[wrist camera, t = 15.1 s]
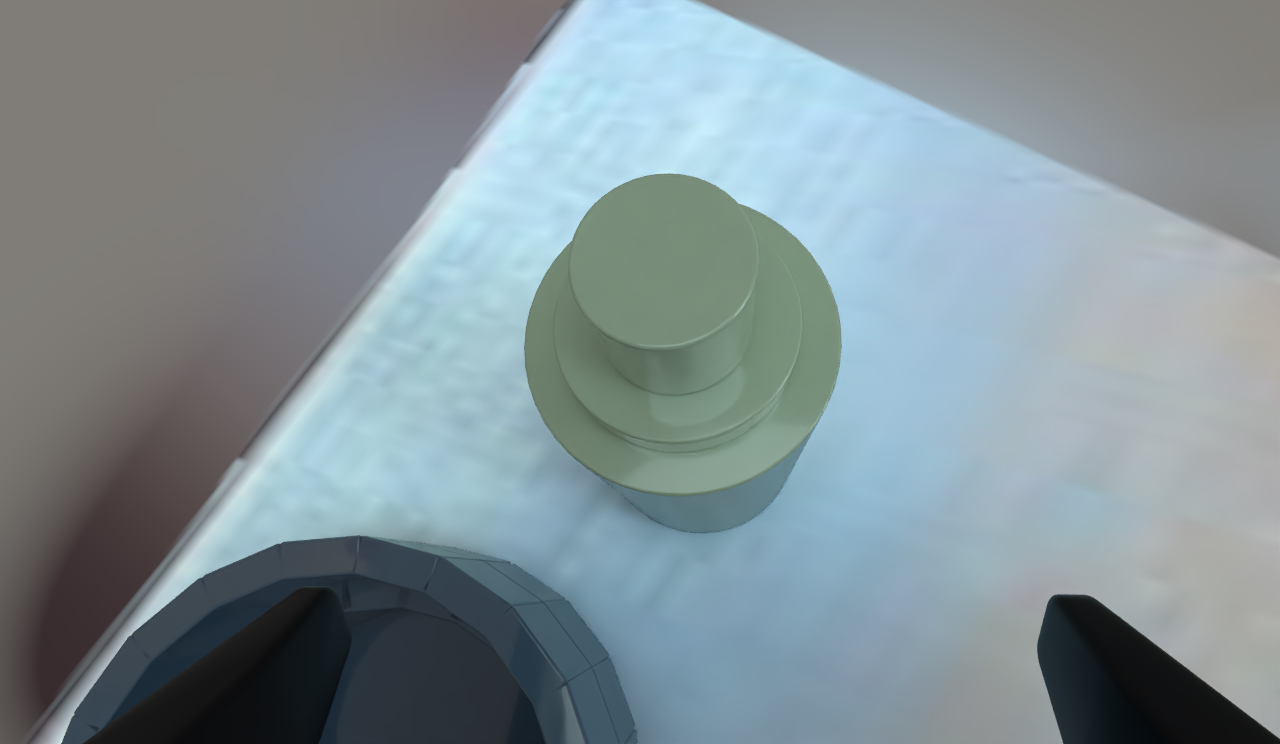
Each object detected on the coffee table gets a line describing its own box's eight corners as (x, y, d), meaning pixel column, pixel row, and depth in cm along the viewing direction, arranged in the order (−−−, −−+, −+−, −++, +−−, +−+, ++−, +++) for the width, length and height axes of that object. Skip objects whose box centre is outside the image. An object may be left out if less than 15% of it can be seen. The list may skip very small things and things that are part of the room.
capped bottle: (725, 573, 20) (719, 559, 8) (572, 462, 21) (378, 315, 10) (831, 414, 21) (960, 197, 9) (677, 318, 22) (617, 20, 10)
